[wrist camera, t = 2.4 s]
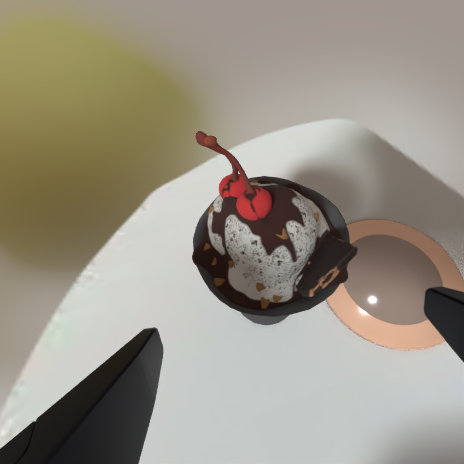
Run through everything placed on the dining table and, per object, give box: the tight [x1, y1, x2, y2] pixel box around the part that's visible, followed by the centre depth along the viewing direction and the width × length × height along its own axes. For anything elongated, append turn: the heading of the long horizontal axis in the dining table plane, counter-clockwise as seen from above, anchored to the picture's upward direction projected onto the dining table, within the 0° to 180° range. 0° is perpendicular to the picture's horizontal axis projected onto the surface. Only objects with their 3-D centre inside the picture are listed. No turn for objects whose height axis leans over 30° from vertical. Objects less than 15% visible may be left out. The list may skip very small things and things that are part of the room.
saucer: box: [325, 219, 464, 350], centre depth 18 cm, size 10×10×1 cm
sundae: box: [192, 131, 358, 325], centre depth 12 cm, size 7×7×15 cm
